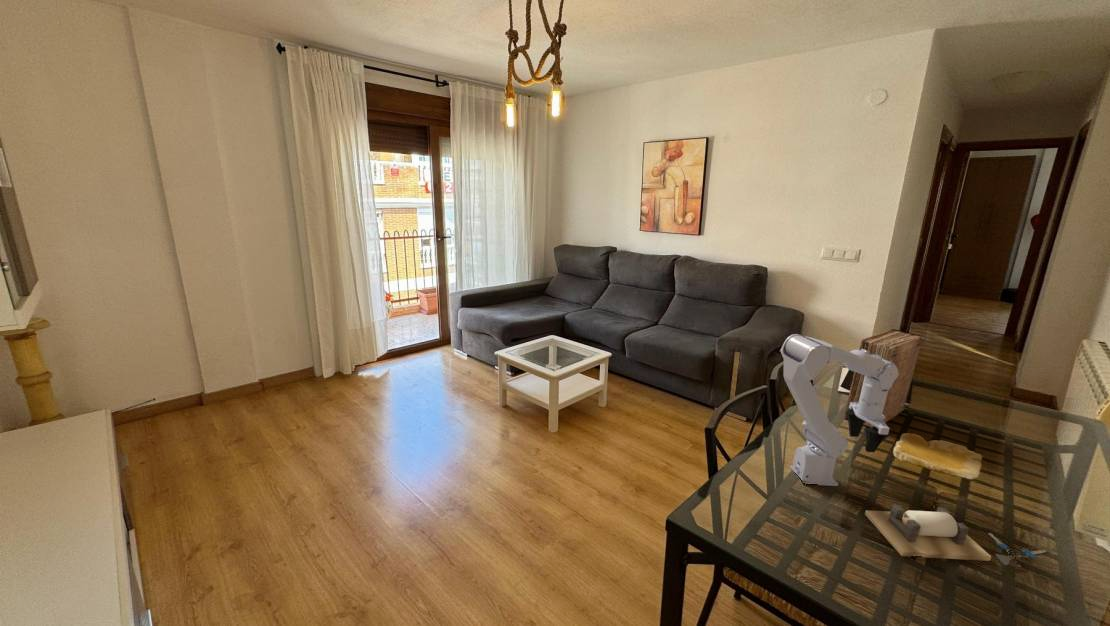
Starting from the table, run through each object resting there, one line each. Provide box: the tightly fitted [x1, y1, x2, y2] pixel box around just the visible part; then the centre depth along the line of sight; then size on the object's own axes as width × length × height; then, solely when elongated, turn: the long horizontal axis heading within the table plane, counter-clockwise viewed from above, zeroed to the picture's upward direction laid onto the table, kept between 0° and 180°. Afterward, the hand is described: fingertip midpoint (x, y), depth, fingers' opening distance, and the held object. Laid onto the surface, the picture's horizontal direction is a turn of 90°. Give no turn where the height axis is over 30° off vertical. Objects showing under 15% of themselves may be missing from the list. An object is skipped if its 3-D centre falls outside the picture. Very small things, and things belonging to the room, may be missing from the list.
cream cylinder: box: [902, 510, 958, 537], centre depth 102 cm, size 11×5×5 cm
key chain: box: [987, 532, 1048, 567], centre depth 101 cm, size 14×8×1 cm, turn 114°
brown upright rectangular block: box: [843, 328, 924, 428], centre depth 156 cm, size 25×9×30 cm, turn 123°
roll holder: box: [864, 504, 992, 562], centre depth 103 cm, size 19×13×6 cm
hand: (861, 443), depth 124 cm, fingers open, 7 cm apart
